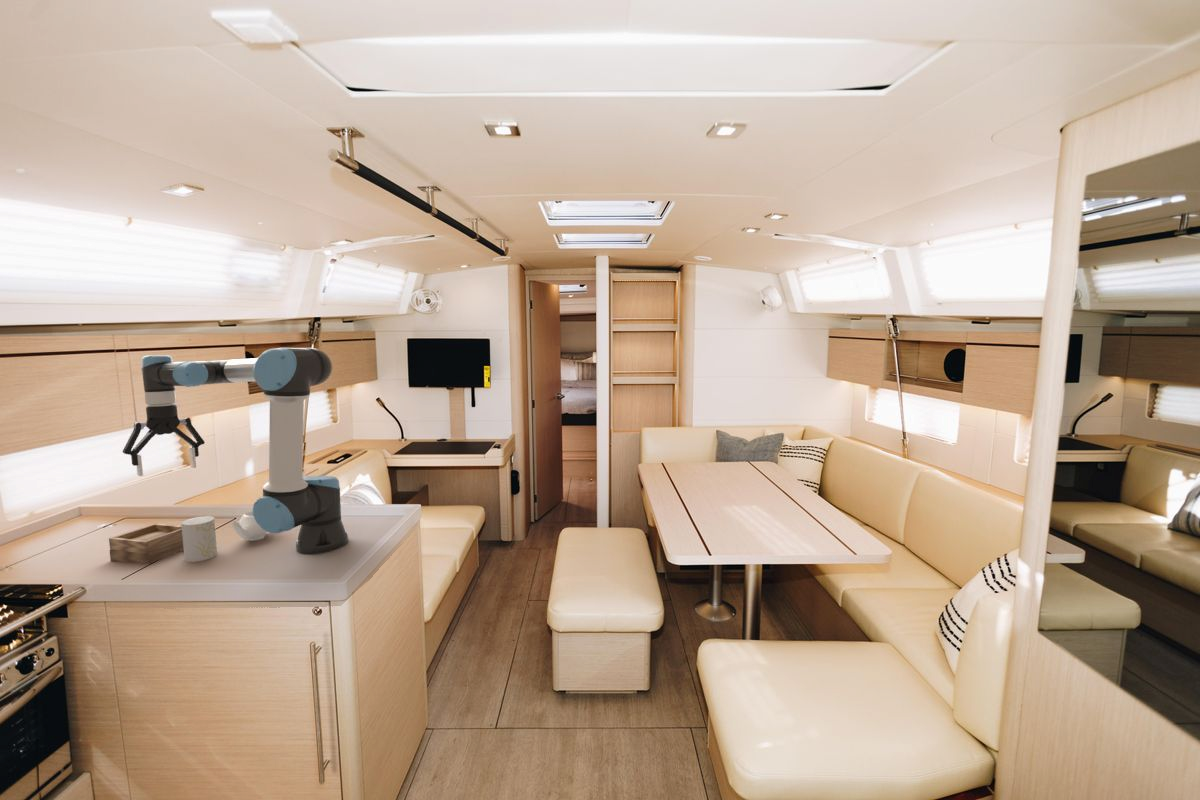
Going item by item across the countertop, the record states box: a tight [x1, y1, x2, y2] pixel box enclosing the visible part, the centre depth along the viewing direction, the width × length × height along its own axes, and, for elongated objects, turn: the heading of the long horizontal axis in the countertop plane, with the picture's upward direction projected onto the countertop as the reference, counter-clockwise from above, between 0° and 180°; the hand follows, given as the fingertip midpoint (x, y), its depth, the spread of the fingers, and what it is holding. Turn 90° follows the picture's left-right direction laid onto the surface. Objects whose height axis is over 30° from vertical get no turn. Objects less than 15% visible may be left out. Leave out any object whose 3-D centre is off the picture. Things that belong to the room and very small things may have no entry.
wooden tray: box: [108, 523, 183, 553], centre depth 169 cm, size 14×14×4 cm
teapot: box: [231, 510, 268, 542], centre depth 182 cm, size 10×20×9 cm, turn 178°
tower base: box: [109, 540, 184, 564], centre depth 170 cm, size 14×14×4 cm
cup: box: [181, 515, 218, 563], centre depth 166 cm, size 8×8×12 cm
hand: (167, 471), depth 170 cm, fingers open, 13 cm apart
